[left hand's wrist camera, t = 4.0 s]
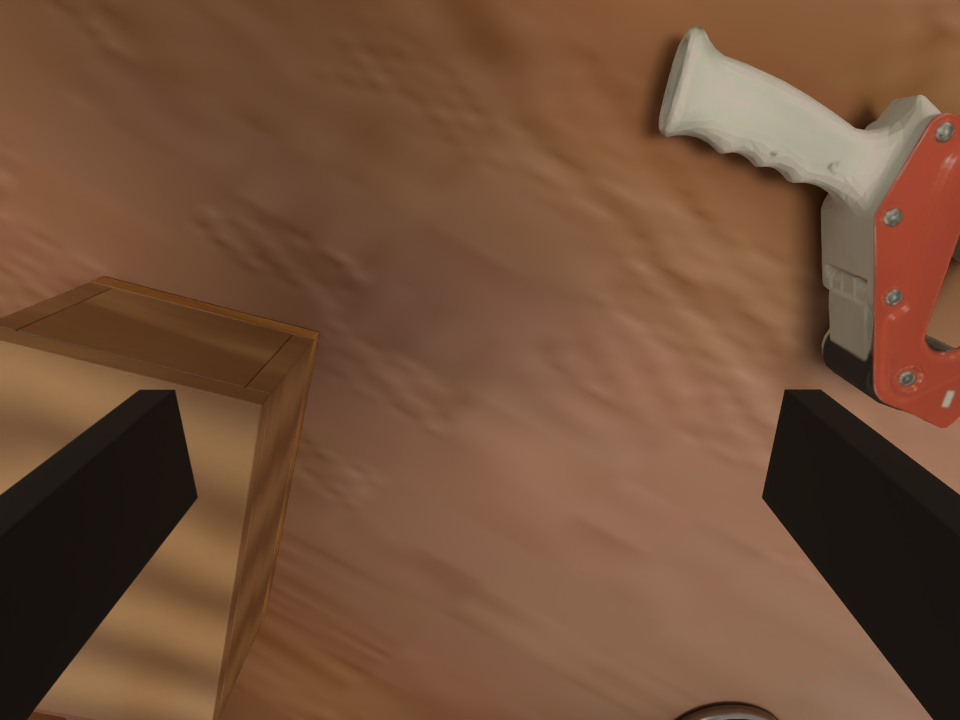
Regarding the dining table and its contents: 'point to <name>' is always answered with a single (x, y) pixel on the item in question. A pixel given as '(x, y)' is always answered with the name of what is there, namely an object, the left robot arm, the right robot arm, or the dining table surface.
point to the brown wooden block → (215, 465)
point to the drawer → (61, 715)
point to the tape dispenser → (849, 213)
